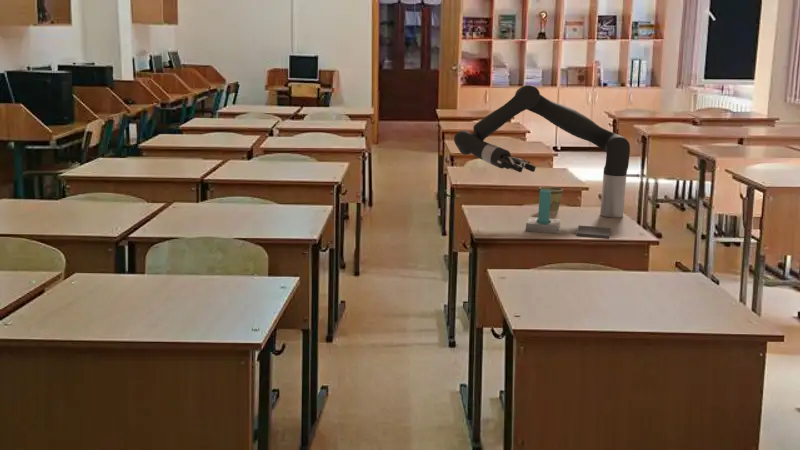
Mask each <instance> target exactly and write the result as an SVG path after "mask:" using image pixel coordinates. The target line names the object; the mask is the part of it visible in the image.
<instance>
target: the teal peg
mask: <svg viewBox="0 0 800 450" xmlns="http://www.w3.org/2000/svg"><path fill="white" fill-rule="evenodd" d="M538 198H539V199H538V200H539V201H538V212H537V213H538V214H537V216H538V217H537V218H538V222H540V223H549V219H551V218H550V216H551V214H550V203H551V190H544V189H541V190H540V196H538Z"/></svg>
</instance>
